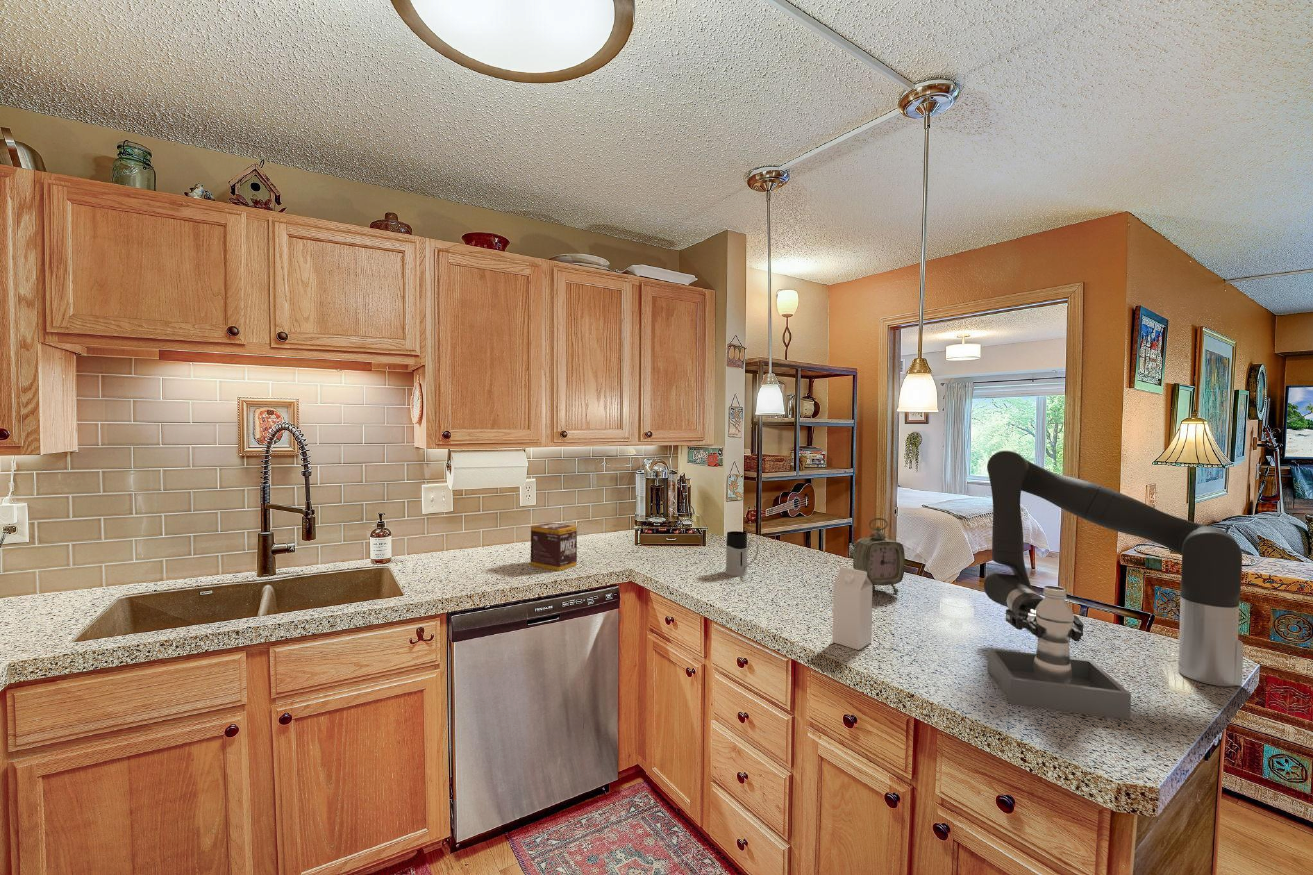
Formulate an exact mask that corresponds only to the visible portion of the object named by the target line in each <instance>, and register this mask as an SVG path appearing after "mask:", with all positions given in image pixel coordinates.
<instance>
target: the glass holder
mask: <svg viewBox="0 0 1313 875" xmlns="http://www.w3.org/2000/svg"><path fill="white" fill-rule="evenodd" d="M751 542H755V544H756V551H755V556H754V558H753V559H752V561H750V563H748V551H749V550H750V546H751ZM758 542H759V541H757V540H755V539H750V540H749V541H748V533H747V532H745V531H741V530H739V531H738V530H737V531H736V530H734V531H732V530H731V531H728V532H727V533H726V545H725V546H726V549H725V550H726V552H725V553H726V554H725V556H726V557H725V560H726V561H725V571H724V574H726V575H728V576H731V577H733V576H734V577H744V576H747V575H749V570H748V567H750V565H752V563H754V562H755V561H756V560H757V557H758V554H759V550H760V548H759V543H758Z"/></svg>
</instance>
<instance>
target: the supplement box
mask: <svg viewBox="0 0 1313 875" xmlns="http://www.w3.org/2000/svg"><path fill="white" fill-rule="evenodd" d="M577 553H578V526H577V525H572V524H571V525H570V524H563V523H556V522H545V523H541V524H536V525H535V524H534V525H530V562H529V563H530V566H533V567H537V568H542V569H548V570H552V571H557V572H561V571H565V570H568V569H569V568H573V567H576V566H578V565H577V564H578V562H577V560H578V558H577V557H578V554H577Z"/></svg>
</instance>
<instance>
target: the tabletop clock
mask: <svg viewBox="0 0 1313 875" xmlns="http://www.w3.org/2000/svg"><path fill="white" fill-rule="evenodd" d="M878 520H879V521H884V522H885V524H886V525H885V526H884V527H881V526H879V525H877V526H876V528H875V527H872V526H871V524H872V523H873V522H874V521H878ZM868 526H869V528H870V530H873V532H871V534H870V536H869V537H863V538H859V539H858V540H856V541H855V542H854V544H853V545H854V546H853V552H852V567H853V568H852V569H855V570H860V571H865V572H867V577H868V579H869V580H870V582H871V583H872V591H875V590H876V586H891V587H892V588H893V590H892V591H893V593H894V594H897V593H899V589H898V588H897V587H896V586H895V585H897V584H899V583H901V582H902V581H903V578H904V576H905V575H904V574H905V567H906V566H905V564H906V563H905V562H906V558H905V557H906V555H905V547H904V545H903V544H902V543H900V542H899V541H898V542H897V541H894V540H891V539H889V538H887V535H886V534H885V533H884V532H883V531H884V530H885V529H887V527H888V526H889V522H888V520H887V519H885V518H883V517H874V518H872V519H870V521H869V522H868Z"/></svg>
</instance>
